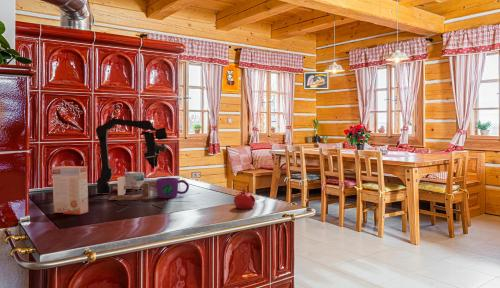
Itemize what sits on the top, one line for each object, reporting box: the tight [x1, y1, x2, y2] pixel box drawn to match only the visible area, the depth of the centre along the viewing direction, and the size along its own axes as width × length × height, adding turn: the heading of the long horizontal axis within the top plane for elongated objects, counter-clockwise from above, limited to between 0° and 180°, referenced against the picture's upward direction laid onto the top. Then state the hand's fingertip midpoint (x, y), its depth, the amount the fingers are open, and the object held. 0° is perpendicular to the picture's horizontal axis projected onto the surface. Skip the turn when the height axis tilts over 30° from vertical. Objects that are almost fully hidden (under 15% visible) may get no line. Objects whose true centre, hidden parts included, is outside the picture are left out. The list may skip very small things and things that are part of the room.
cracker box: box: [51, 165, 89, 215], centre depth 175 cm, size 14×6×21 cm, turn 74°
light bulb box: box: [124, 171, 145, 189], centre depth 243 cm, size 11×7×11 cm, turn 58°
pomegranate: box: [233, 187, 256, 210], centre depth 180 cm, size 10×10×9 cm
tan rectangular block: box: [117, 176, 127, 196], centre depth 210 cm, size 3×7×9 cm, turn 10°
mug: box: [156, 177, 190, 200], centre depth 214 cm, size 17×11×10 cm, turn 104°
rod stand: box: [108, 181, 151, 201], centre depth 211 cm, size 20×10×8 cm, turn 100°
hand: (154, 167), depth 232 cm, fingers open, 9 cm apart
